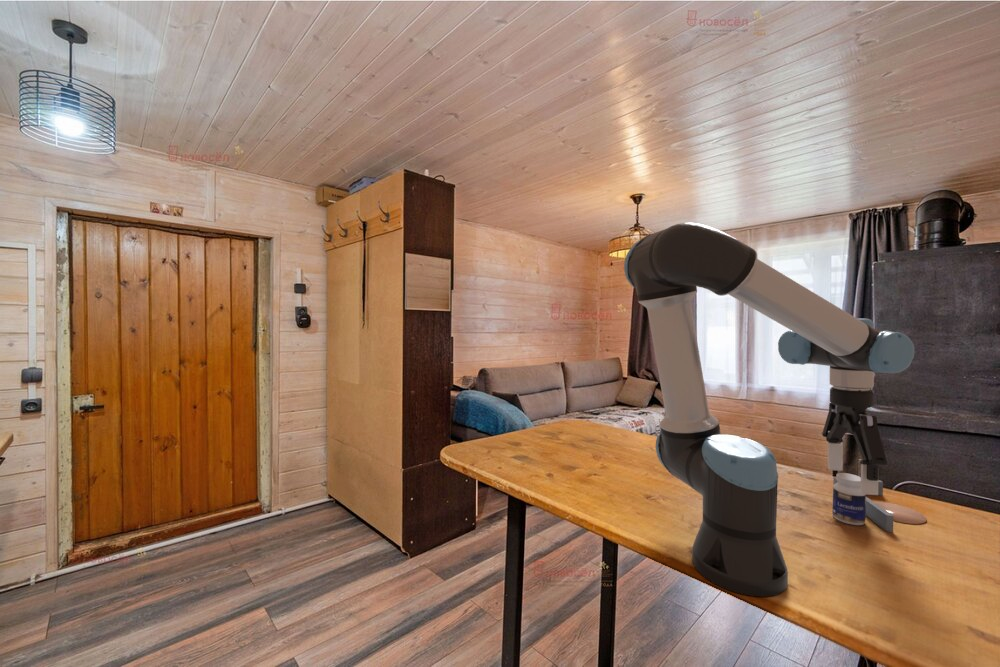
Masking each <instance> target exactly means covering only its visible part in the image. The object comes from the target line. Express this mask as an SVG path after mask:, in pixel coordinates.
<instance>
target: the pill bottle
mask: <svg viewBox="0 0 1000 667" xmlns="http://www.w3.org/2000/svg"><path fill="white" fill-rule="evenodd" d="M835 477H836V480H837V481H838V483H835V484H834V486H832V513H831V514H832V516H833V518H834V519H836V520H837V521H839V522H840V523H844V524H848V525H852V526H862V525H864V524H865V523H866V497H867V494H862V493H861V476H858V475H856V474H852V473H847V472H838V473H836V476H835Z"/></svg>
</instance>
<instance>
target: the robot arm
mask: <svg viewBox="0 0 1000 667" xmlns="http://www.w3.org/2000/svg"><path fill="white" fill-rule="evenodd" d="M623 271H624V275H625V279H626V280H627V281H628V283H629V284H630V285H631V286H632V287H634V288H635V290H636V296H637V301H638V302H637V303H639V304H640V305H642V306H643V307H645V309H646V311H647V315H648V321H649V327H650V333H651V337H652V338H651V339H652V345H653V350H654V355H655V362H656V368H657V373H658V377H659V378H658V380H659V384H660V389H661V396H662V401H663V407H664V408H663V409H664V414H665V415H664V417H663V418H662V419H661V421H660V422H659V427H660V431H659V435H657V437H656V439H655V452H656V456H657V458H658V461H659V462H660V464H661V465H662V466H663V467H664V468H665V469H666V470H667V471H668V473H670V474H671V475H672V476H673V477H675V478H677V479H678V480H680V481H681V482H683V483H684V484H686V485H687V486H688V487H690V488H691V489H693V490H694V491H696V492H697V493H699V494H700V495H701V497H702V522H701V523H700V526H699V529H698V532H697V534H696V537H695V539H694V541H693V544H692V547H691V548H692V550H691V552H692V553H691V558H692V559H691V561H692V565H693V566H694V568H695V569H696V570H697V571H698V573H699V574H700V575H701V576H703V578H705V579H707V580H708V581H710V582H711V583H713V584H714V585H717V586H718V587H720V588H723V589H726V590H728V591H730V592H734V593H736V594H741V595H745V596H746V595H747V596H751V597H765V598H766V597H773V596H776V595H780V594H782V593H783V592H785V591H786V589H787V587H788V585H789V584H788V583H789V581H788V580H789V578H788V576H789V572H788V567H787V565H786V562H785V558H784V556H783V552H782V550H781V547H780V544H779V541H778V538H777V512H778V510H777V509H778V507H777V506H778V483H779V473H778V467H777V466H778V465H777V459H776V457H775V454H774V453H773V452H772V450H770V449H769V448H768V446H767V447H766V446H765V445H763V444H762V443H760V442H758V441H755V440H754V439H750V438H745V437H744V438H743V437H741V436H738V435H734V434H727V433H726V434H722V433H721V432H722V431H721V428H720V421H719V419H718V418H717V416H715V415H713V414H711V413H710V410H709V409H710V408H709V404H708V398H707V392H706V385H705V380H704V375H703V374H704V373H703V369H702V368H703V367H702V363H701V356H700V350H699V344H698V338H697V333H696V328H695V321H694V315H693V308H692V300H693V298H694V297H695V296H696V294H697V293H698V288H697V287H699V288H701V289H702V288H703V289H705V290H708V291H709V292H712V293H714V294H716V295H717V296H719V297H720V296H728V295H729V296H730V297H733V298H734V299H735V300H736V301H739V302H741V303H743V304H745V305H746V306H747V307H750V308H751V309H753V310H755V311H757V312H759V313H760V314H762V315H764V316H765V317H767V318H769V319H771V320H773V321H774V322H776V323H778V324H779V325H781V326H783V327H785V328H787V329H788V330H786V331H785V332H784V333H782V335H781V336H780V337H779V339H778V342H777V345H778V346H777V347H778V348H777V350H778V353H779V356H780V357H781V358H782V360H783V361H785V363H787V364H790V365H791V364H792V365H801V366H802V365H803V366H804V365H808V364H809V365H812V364H813V365H820V366H827V367H829V385H831V387H830V388H829V405H828V406H829V407H828V413H827V415H826V416H827V417H826V420H825V423H824V427H823V430H822V433H821V434H822V436H823V437H824V438H825V440H826V442H827V469H828V470H829V471H840V472H843V465H844V462H843V460H844V457H843V455H844V454H843V452H844V451H843V449H844V448H843V446H844V444H843V443H844V440H843V438H844V436H845V434H846V433H847V432H849V434H851V435H853V438H854V441H855V442H856V445H857V447H858V451H859V453H860V456H861V458H862V460H861V461H859V464H860V477H861V493H862V494H866V496H867V495H870V496H879V495H878V480H879V470H880V469H879V466H887V465H888V461H887V457H886V454H885V450H884V446H883V442H882V438H881V435H880V431H879V429H878V418H877V416H876V415H868V414H867V409H868V408H869V409H870V408H873V407H874V405H875V391H874V390H873V389H872V388H874V387H875V377H876V374H879V373H883V374H886V373H887V374H898V373H902V372H904V371H905V370H907V369H908V368H909V367H910V366H911V365H912V364H911V363H912V362H913V360H914V358H915V353H916V352H915V345H914V343H913V341H912V339H911V338H910V337H909V336H907V335H906V334H905V333H903V332H897V331H890V330H883V331H882V330H878V329H875V326H874V325H875V324H874V321H873V320H872V319H870V318H857V317H855V316H854V315H852V314H850V313H848V312H847V311H845V310H843V309H841V307H839V306H837V305H835V304H834V303H832V302H831V301H828V300H827V299H825V298H824V297H821V296H820V295H818V294H816V293H815V292H814V291H812V290H811V289H808V288H807V287H805V286H803V285H802V284H800V283H798V282H797V281H795V280H794V279H792V278H790V277H788V276H786V275H785V274H783V273H781V272H780V271H779V270H777V269H775V268H773V267H771V265H769V264H767V263H765V262H764V261H762V260H760V259H758V253H757V251H756V249H755V248H753V247H751V246H749V245H748V244H746V243H745V242H743V241H741V240H739V239H737V238H735V237H734V236H732V235H730V234H727V233H725V232H724V231H721V230H719V229H716V228H714V227H711V226H709V225H705V224H701V223H695V222H681V223H675V224H674V225H671V226H669V227H667V228H665V229H662V230H660V231H659V230H658V231H656V232H654V233H651V234H647V235H646V236H644V237H642V238H640V240H638V241H637V242H635V243H634V244H633V245H632V246H631V247H630V249H629V250H628V252H627V254H626V255H625V259H624V263H623Z"/></svg>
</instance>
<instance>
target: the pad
mask: <svg viewBox="0 0 1000 667" xmlns="http://www.w3.org/2000/svg"><path fill="white" fill-rule="evenodd" d="M874 502H875V503H876V504H877V505H879V506H880V507H882V508H883V509H884V510H886V511H887V512H889V513H890V514H891V515H893V522H898V523H902V524H903V523H904V524H910V525H920V524H925V523H926V522H927V517H926V516H925V515H924V514H922V513H921V512H919V511H917V510H916V509H912V508H911V507H910V508H909V507H908V506H907V507H906V506H903V505H900V504H895V503H890V502H884V501H874Z"/></svg>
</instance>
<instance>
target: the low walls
mask: <svg viewBox="0 0 1000 667" xmlns="http://www.w3.org/2000/svg"><path fill="white" fill-rule="evenodd" d="M832 481H833V486H834V484H835V483H838V481H837V480H836V476H833V480H832ZM833 486H832V487H833ZM883 492H884V482H883V481H882V480H879V479H878V495H877V496H884V493H883ZM875 502H876V501H873V500H871V499H870V498H869V497H867V496H866V515H865V517H867V518H868V519H870V520H871V521H873V523H875V524H876V525H877V526H878V527H880V528H881V529H882V530H884V531H885V532H889V533H894V521H893V515H891V514H890V513H889V512H887V511H886V510H884V509H883V508H882V507H880V506H879V505H877V504H876V503H875Z"/></svg>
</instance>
